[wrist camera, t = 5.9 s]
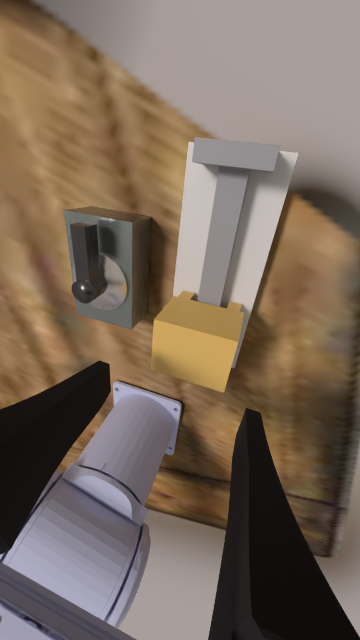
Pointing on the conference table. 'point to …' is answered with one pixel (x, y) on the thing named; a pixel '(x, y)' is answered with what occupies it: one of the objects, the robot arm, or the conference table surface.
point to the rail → (229, 220)
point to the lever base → (117, 264)
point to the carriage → (196, 341)
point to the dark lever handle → (86, 262)
